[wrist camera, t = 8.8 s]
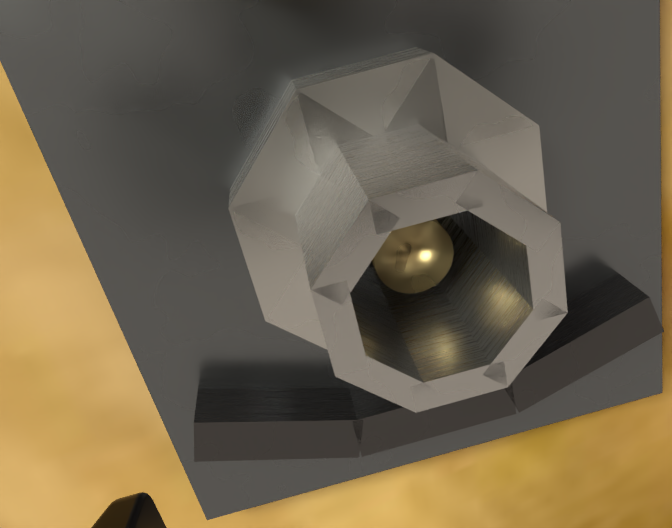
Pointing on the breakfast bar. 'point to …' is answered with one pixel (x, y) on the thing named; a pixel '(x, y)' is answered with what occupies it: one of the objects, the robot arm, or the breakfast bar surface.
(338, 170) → the octagonal pipe fitting
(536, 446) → the breakfast bar surface
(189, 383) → the carrier
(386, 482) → the breakfast bar surface
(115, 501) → the robot arm
